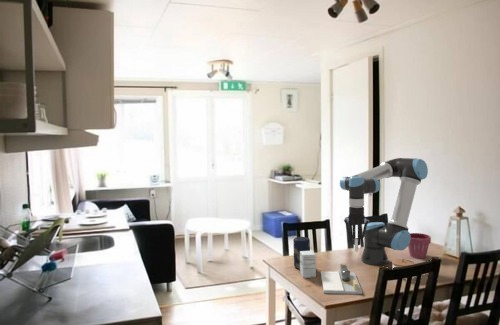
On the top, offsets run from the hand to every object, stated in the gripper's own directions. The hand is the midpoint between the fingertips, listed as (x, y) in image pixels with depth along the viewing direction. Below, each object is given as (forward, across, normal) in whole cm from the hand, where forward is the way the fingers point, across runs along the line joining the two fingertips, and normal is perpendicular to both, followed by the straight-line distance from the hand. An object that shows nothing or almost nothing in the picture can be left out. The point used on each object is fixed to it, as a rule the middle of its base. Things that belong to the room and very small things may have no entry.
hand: (356, 251), depth 208 cm
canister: (+16, +32, -10) cm, 37 cm away
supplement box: (+16, +26, +2) cm, 30 cm away
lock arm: (+13, +6, +3) cm, 15 cm away
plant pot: (+15, -31, -52) cm, 62 cm away
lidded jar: (+15, -22, -12) cm, 30 cm away
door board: (+15, +7, +8) cm, 19 cm away
